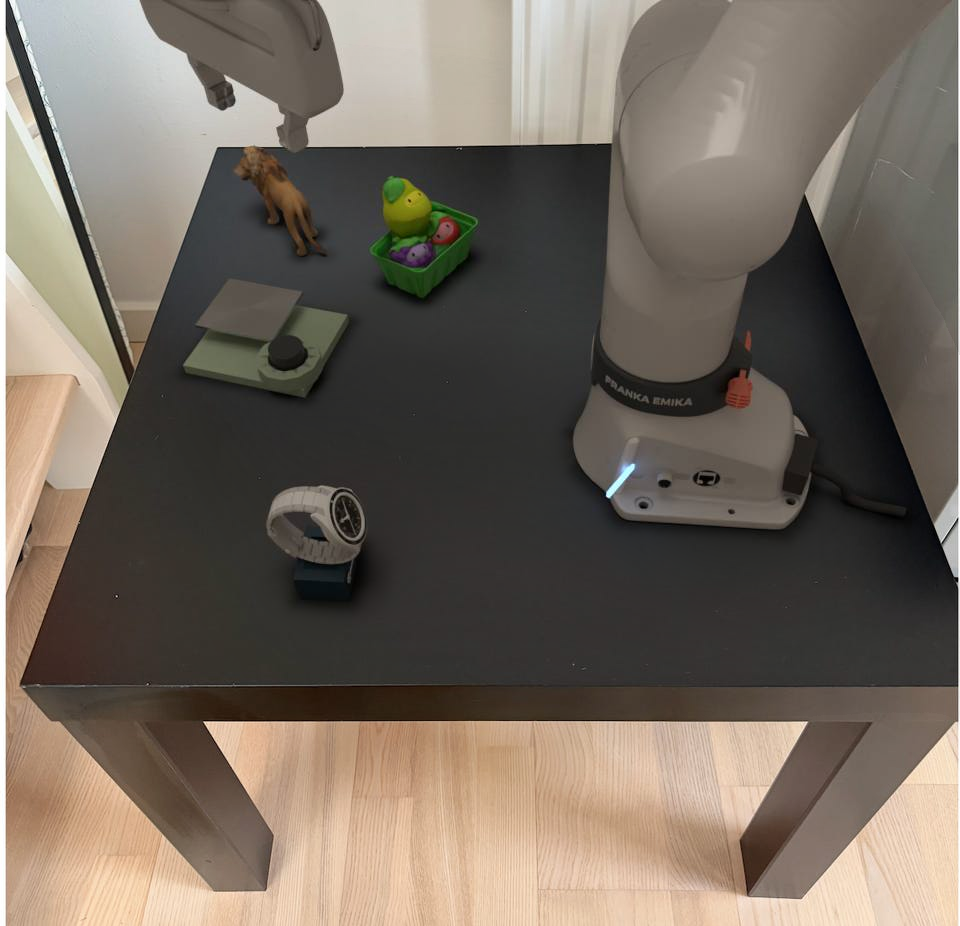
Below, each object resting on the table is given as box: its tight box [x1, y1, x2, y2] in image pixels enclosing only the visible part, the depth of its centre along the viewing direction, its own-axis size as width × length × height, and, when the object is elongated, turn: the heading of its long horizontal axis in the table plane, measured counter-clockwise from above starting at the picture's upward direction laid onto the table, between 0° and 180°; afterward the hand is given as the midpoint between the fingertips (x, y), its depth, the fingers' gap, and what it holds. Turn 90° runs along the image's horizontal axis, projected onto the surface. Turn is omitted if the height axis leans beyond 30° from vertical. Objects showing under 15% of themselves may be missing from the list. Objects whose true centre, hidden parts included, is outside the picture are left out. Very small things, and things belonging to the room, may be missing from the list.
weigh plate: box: [194, 277, 304, 342], centre depth 98 cm, size 9×8×1 cm
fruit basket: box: [369, 175, 479, 299], centre depth 102 cm, size 11×9×11 cm
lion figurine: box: [233, 144, 328, 257], centre depth 109 cm, size 15×5×9 cm, turn 43°
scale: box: [182, 304, 350, 398], centre depth 97 cm, size 15×13×3 cm
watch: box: [265, 484, 368, 602], centre depth 76 cm, size 6×8×11 cm
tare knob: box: [268, 335, 306, 371], centre depth 93 cm, size 4×4×2 cm
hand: (258, 125), depth 73 cm, fingers open, 8 cm apart
